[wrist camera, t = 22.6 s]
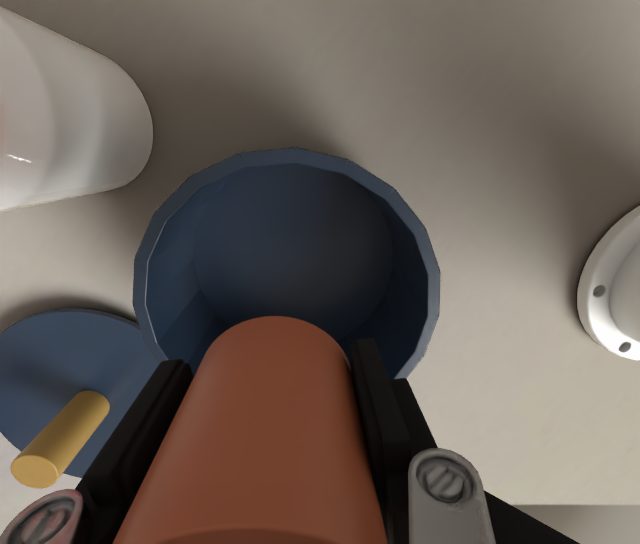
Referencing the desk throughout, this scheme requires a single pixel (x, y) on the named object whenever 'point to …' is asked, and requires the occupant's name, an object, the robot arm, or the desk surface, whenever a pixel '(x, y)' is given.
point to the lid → (67, 388)
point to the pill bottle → (64, 118)
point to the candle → (262, 448)
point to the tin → (287, 258)
